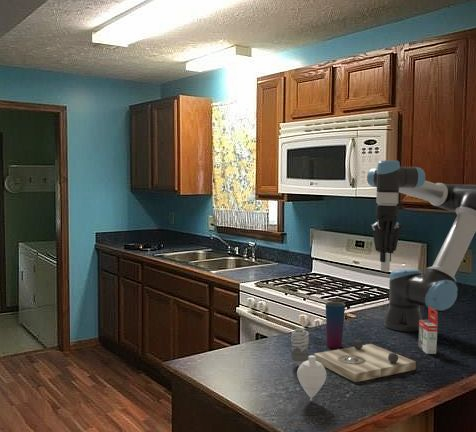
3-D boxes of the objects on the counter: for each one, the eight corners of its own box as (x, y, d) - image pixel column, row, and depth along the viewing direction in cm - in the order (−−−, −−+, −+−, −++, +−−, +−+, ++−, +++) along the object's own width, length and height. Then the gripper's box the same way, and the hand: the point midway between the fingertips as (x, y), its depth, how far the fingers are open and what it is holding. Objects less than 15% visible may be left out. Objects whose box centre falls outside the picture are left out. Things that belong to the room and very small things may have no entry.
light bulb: (287, 364, 168) (287, 327, 167) (302, 362, 170) (303, 325, 170) (296, 370, 163) (296, 332, 162) (311, 368, 165) (312, 330, 165)
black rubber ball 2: (393, 360, 166) (393, 350, 166) (400, 363, 164) (400, 353, 163) (385, 361, 165) (386, 352, 165) (392, 364, 162) (393, 355, 162)
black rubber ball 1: (358, 347, 179) (358, 338, 179) (364, 349, 176) (364, 340, 176) (351, 348, 178) (351, 339, 177) (357, 350, 175) (357, 342, 175)
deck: (371, 350, 183) (371, 343, 183) (415, 369, 165) (415, 361, 165) (313, 361, 172) (314, 353, 172) (354, 382, 154) (355, 373, 154)
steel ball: (352, 356, 168) (344, 356, 167) (359, 359, 165) (351, 359, 164) (350, 366, 168) (342, 366, 167) (357, 369, 165) (349, 369, 164)
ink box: (426, 354, 180) (427, 311, 179) (417, 346, 188) (418, 306, 187) (436, 354, 180) (438, 311, 180) (427, 346, 188) (429, 306, 187)
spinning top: (293, 403, 139) (294, 358, 138) (300, 393, 146) (301, 350, 145) (322, 408, 136) (323, 362, 135) (328, 397, 143) (329, 353, 142)
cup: (344, 349, 184) (345, 306, 183) (324, 348, 185) (325, 305, 184) (344, 343, 191) (345, 302, 190) (324, 342, 192) (325, 301, 191)
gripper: (393, 203, 194) (391, 268, 195) (365, 204, 188) (363, 270, 189) (408, 204, 187) (406, 271, 189) (380, 205, 181) (378, 274, 183)
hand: (385, 271), depth 189 cm, fingers closed
